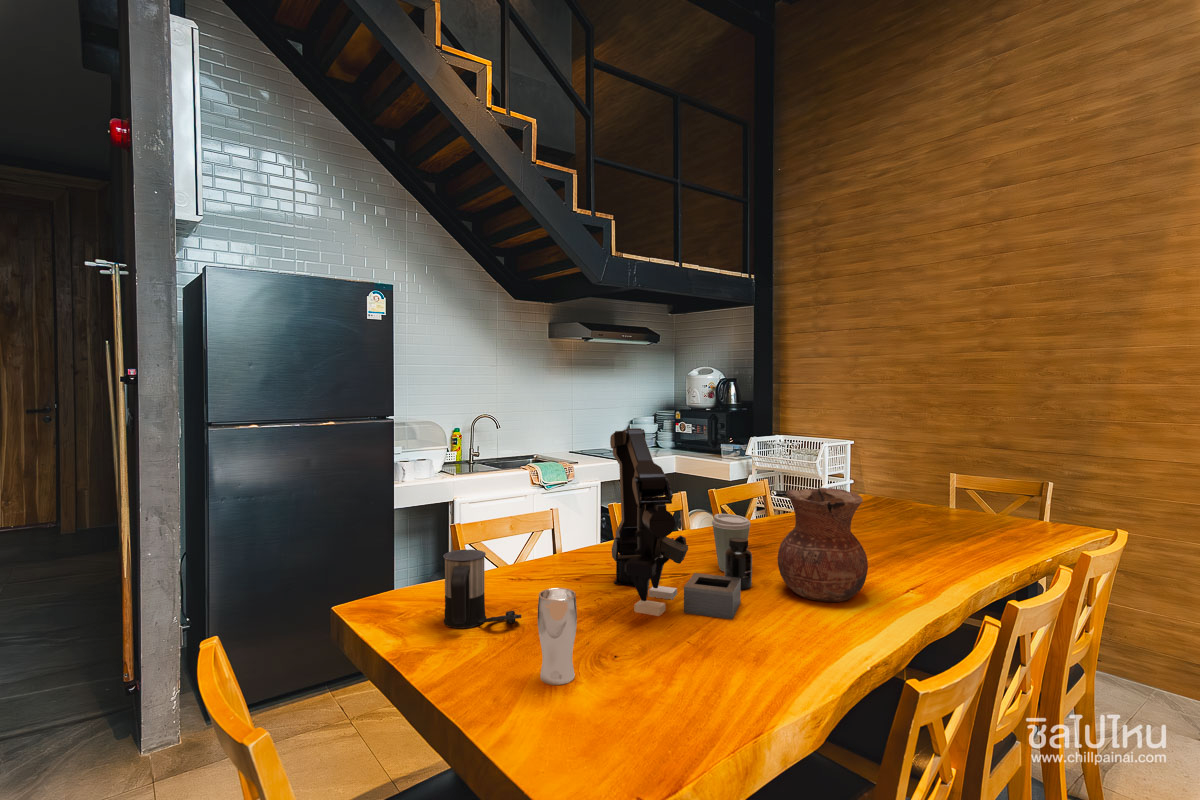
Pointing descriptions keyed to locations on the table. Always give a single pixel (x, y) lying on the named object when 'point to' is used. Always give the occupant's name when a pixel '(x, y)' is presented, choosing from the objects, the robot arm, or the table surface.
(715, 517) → the disposable coffee cup
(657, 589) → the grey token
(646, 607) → the block
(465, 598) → the milk frother
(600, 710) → the table surface
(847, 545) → the brown clay vase
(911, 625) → the table surface
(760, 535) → the table surface
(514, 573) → the table surface
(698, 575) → the grey hollow block
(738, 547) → the supplement bottle
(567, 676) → the beer glass
